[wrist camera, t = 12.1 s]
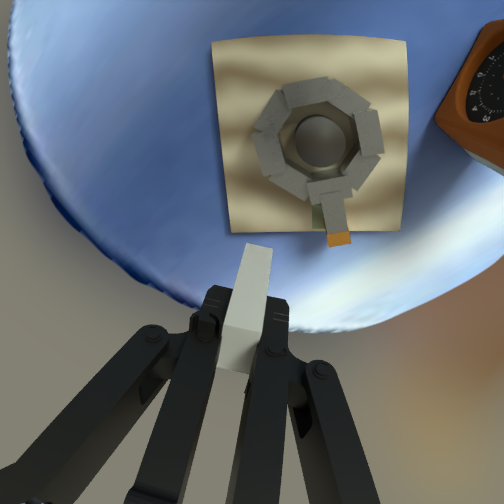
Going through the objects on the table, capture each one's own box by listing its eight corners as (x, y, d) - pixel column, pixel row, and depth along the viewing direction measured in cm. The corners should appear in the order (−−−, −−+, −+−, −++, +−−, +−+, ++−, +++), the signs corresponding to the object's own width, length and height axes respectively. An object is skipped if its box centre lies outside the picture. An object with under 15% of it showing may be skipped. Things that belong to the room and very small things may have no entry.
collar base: (214, 43, 30) (198, 35, 25) (401, 42, 27) (422, 36, 22) (233, 227, 42) (223, 251, 36) (396, 226, 39) (411, 249, 33)
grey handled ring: (245, 94, 31) (239, 95, 28) (360, 71, 28) (368, 70, 25) (285, 239, 40) (284, 255, 36) (385, 220, 37) (394, 235, 33)
